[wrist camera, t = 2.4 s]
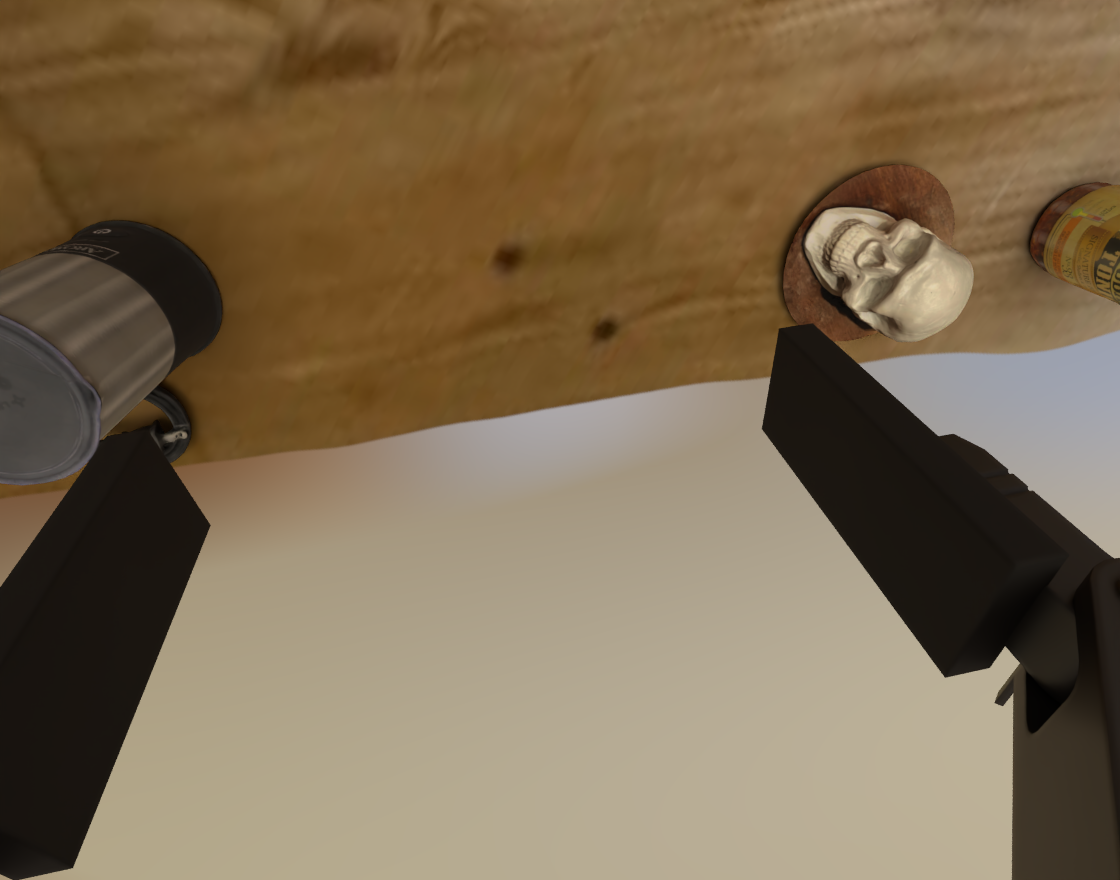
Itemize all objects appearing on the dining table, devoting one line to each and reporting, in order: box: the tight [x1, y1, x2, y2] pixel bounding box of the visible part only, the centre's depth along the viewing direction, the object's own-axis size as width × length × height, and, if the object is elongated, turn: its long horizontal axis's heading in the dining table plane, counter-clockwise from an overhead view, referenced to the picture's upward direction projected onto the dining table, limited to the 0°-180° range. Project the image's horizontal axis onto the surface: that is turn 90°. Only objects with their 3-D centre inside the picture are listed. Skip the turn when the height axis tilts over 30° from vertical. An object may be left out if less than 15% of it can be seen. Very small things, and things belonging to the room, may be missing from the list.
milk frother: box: [0, 221, 222, 485], centre depth 34 cm, size 14×16×15 cm
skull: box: [783, 165, 974, 342], centre depth 40 cm, size 12×10×10 cm
